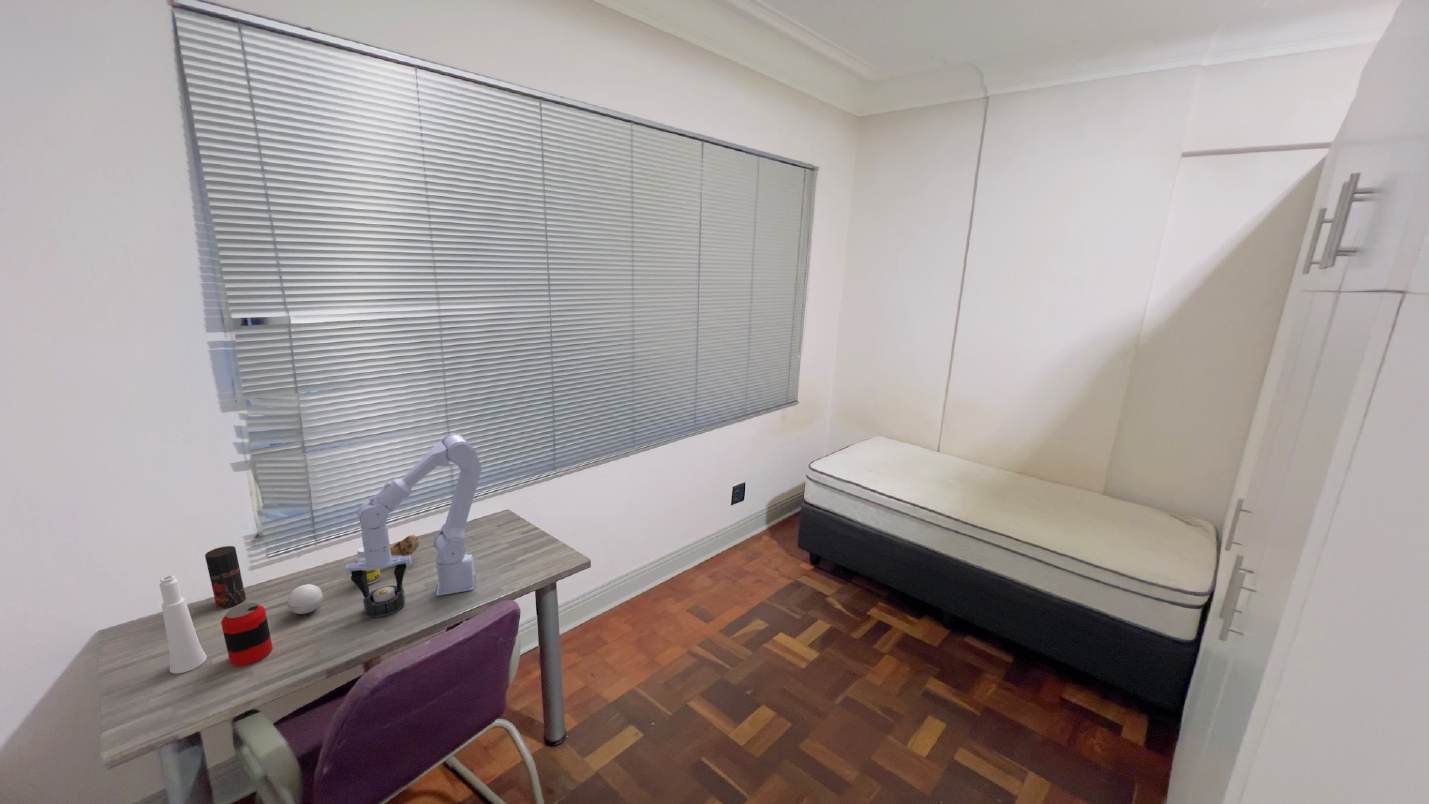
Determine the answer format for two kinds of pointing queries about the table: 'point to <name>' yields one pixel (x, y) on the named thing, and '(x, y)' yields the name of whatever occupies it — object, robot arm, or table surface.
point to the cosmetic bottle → (179, 629)
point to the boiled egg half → (384, 594)
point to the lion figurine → (405, 546)
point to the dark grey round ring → (383, 604)
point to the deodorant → (225, 577)
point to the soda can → (246, 634)
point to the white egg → (304, 599)
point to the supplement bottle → (371, 574)
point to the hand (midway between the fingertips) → (383, 592)
